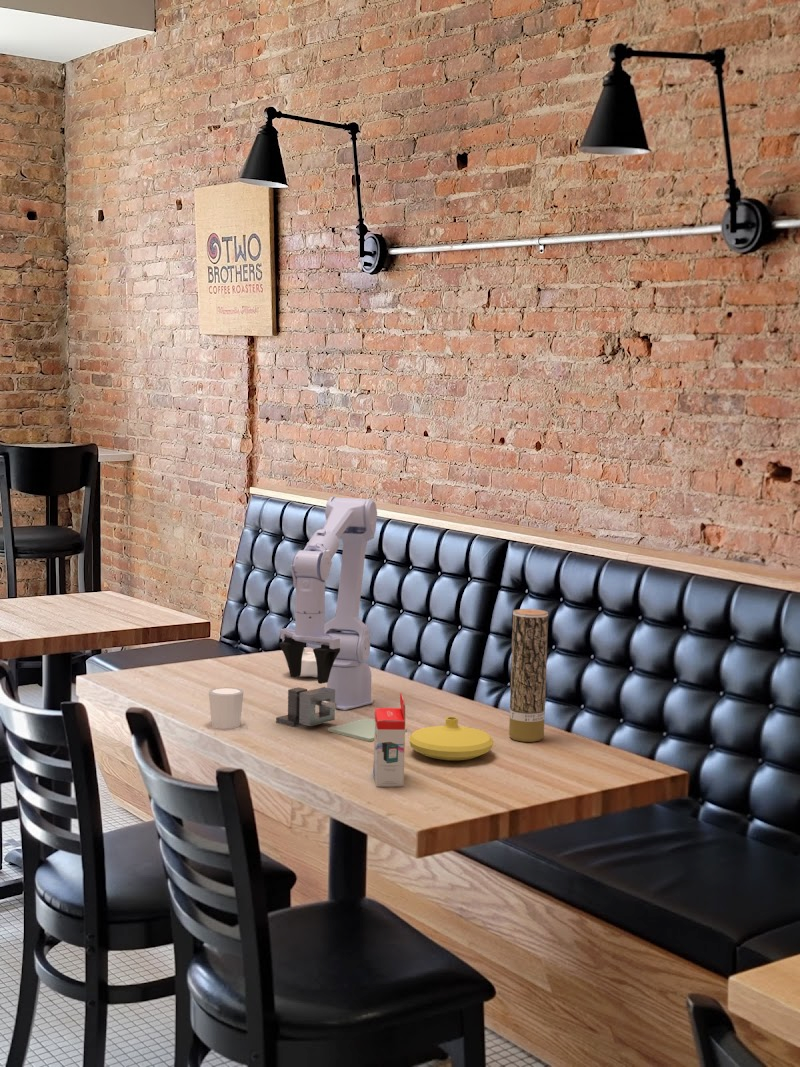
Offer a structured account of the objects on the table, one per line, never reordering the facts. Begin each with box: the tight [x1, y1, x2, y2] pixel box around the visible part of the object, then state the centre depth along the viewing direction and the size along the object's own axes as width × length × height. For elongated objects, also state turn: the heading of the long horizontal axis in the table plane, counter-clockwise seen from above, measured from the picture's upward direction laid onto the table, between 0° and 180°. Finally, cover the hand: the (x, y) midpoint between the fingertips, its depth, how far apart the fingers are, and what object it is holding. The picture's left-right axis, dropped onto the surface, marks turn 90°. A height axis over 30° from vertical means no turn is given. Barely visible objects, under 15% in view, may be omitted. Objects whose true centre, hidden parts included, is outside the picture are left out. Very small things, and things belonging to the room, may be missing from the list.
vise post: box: [275, 686, 337, 728], centre depth 267 cm, size 7×13×7 cm, turn 50°
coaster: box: [327, 717, 408, 743], centre depth 264 cm, size 11×11×1 cm
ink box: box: [372, 692, 406, 788], centre depth 231 cm, size 8×5×15 cm, turn 5°
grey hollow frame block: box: [299, 686, 336, 727], centre depth 266 cm, size 7×3×6 cm, turn 140°
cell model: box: [283, 648, 317, 678], centre depth 310 cm, size 10×12×7 cm
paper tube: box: [508, 608, 549, 743], centre depth 260 cm, size 7×7×25 cm
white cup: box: [208, 687, 245, 730], centre depth 265 cm, size 7×7×7 cm
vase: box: [408, 716, 495, 761], centre depth 248 cm, size 16×16×7 cm
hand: (309, 679), depth 263 cm, fingers open, 7 cm apart
